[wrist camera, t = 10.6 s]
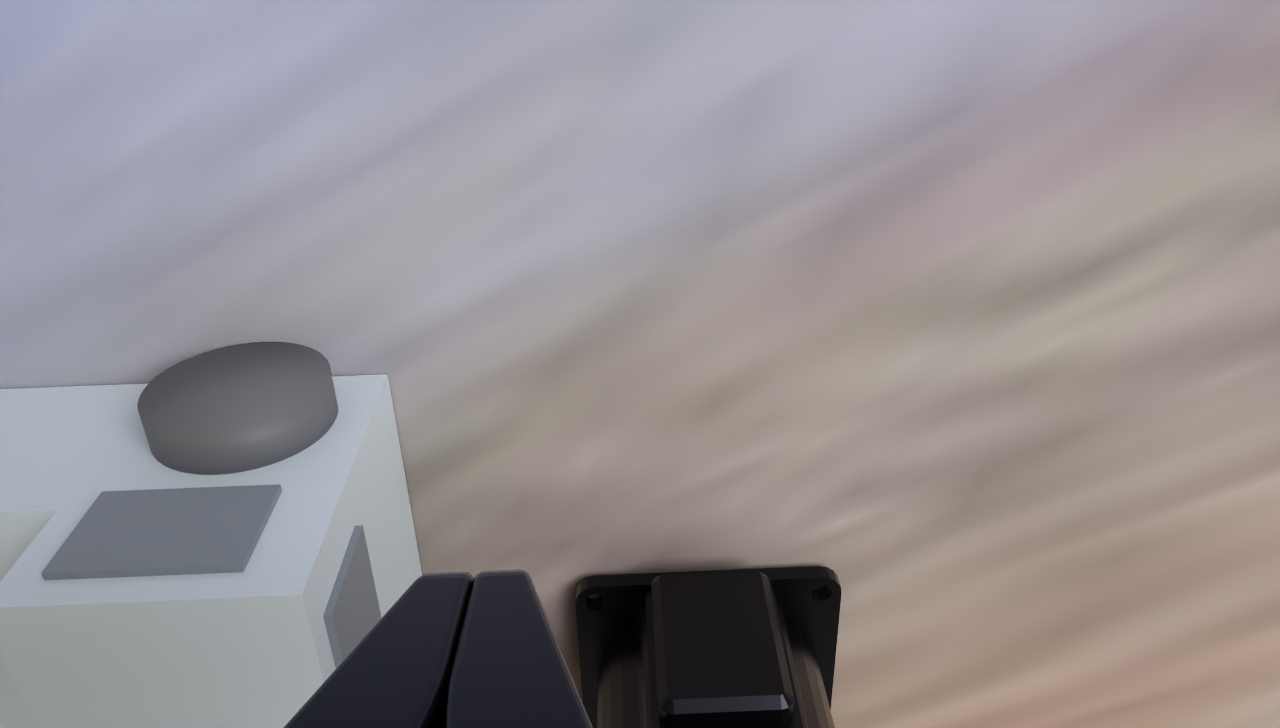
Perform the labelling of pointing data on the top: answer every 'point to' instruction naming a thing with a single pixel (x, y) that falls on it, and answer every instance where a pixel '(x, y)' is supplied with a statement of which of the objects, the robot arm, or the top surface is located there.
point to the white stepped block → (196, 540)
